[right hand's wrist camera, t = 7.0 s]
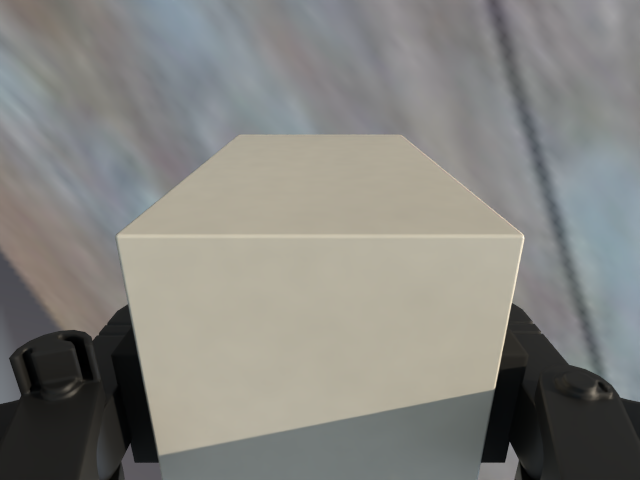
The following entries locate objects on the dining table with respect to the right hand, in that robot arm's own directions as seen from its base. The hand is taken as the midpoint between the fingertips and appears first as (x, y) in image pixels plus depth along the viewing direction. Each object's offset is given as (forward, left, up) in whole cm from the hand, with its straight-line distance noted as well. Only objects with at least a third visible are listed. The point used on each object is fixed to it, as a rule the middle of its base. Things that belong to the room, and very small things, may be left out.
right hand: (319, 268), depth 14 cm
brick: (0, 0, -4) cm, 4 cm away
